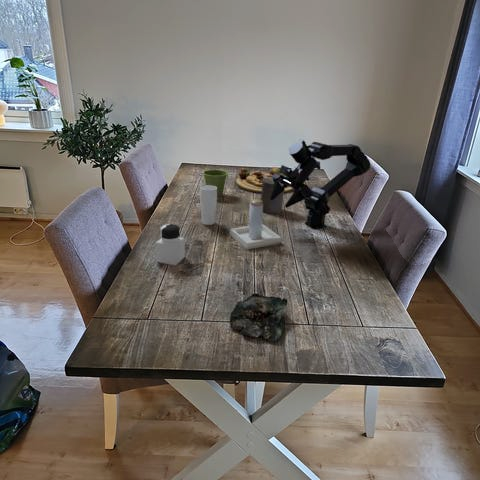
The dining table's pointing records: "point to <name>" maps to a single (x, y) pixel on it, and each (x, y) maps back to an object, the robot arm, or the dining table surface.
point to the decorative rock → (260, 316)
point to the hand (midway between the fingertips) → (278, 203)
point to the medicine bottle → (170, 245)
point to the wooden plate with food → (256, 180)
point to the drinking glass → (208, 204)
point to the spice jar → (255, 219)
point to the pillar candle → (268, 204)
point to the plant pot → (216, 179)
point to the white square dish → (266, 240)
